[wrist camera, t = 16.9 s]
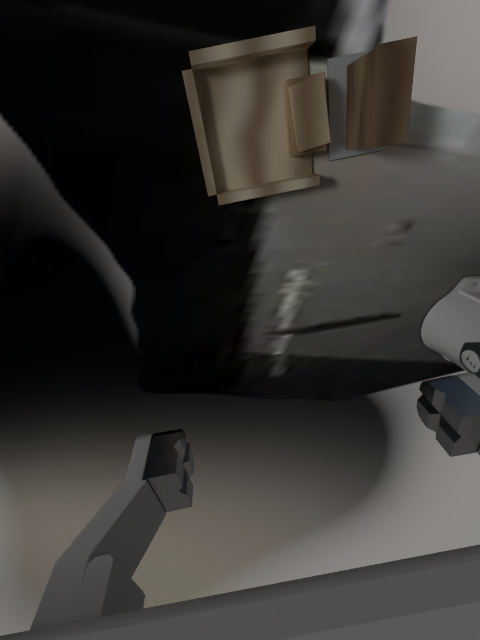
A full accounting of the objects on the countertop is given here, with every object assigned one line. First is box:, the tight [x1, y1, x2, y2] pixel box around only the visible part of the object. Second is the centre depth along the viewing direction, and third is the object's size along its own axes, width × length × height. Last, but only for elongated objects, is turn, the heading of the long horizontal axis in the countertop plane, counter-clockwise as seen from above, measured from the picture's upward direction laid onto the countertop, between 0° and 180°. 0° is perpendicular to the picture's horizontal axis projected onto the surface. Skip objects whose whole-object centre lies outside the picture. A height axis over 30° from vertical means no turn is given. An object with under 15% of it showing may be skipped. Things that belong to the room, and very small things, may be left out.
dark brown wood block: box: [346, 37, 417, 149], centre depth 35 cm, size 4×9×8 cm, turn 10°
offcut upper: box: [288, 75, 331, 152], centre depth 36 cm, size 4×7×2 cm, turn 16°
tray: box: [182, 26, 320, 205], centre depth 37 cm, size 15×16×4 cm
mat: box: [327, 50, 386, 160], centre depth 38 cm, size 8×11×1 cm
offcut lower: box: [283, 72, 327, 157], centre depth 37 cm, size 4×8×2 cm, turn 10°
